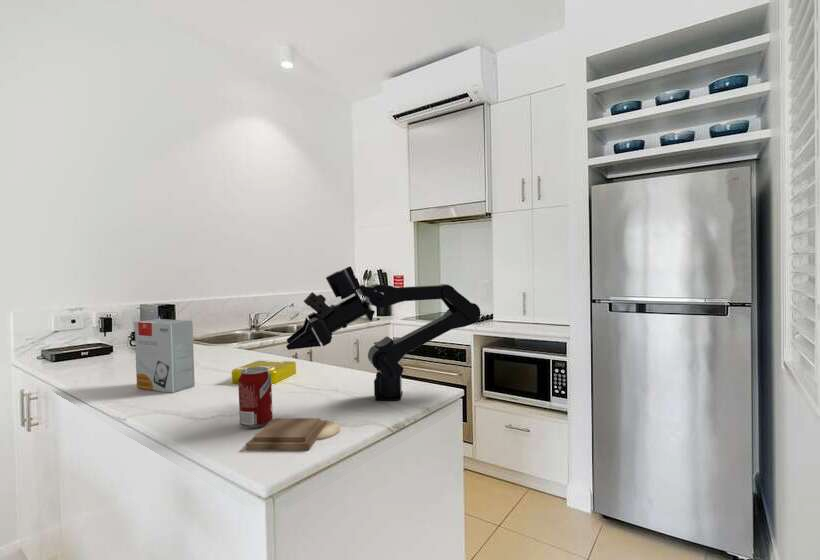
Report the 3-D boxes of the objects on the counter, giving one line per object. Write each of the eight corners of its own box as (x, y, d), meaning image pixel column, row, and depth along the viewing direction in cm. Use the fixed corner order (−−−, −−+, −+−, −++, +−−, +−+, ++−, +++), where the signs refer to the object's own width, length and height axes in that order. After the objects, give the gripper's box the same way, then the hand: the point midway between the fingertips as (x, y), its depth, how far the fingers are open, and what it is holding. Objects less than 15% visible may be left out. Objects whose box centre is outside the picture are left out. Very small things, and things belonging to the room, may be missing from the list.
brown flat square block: (326, 425, 89) (326, 416, 89) (309, 450, 77) (308, 439, 77) (272, 425, 90) (272, 416, 90) (246, 449, 78) (246, 439, 78)
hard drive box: (135, 389, 122) (132, 321, 122) (159, 382, 129) (157, 318, 129) (173, 393, 116) (170, 322, 116) (196, 386, 124) (193, 319, 123)
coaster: (344, 423, 90) (344, 420, 90) (333, 440, 81) (333, 437, 81) (304, 423, 91) (303, 420, 91) (289, 440, 82) (288, 437, 82)
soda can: (253, 432, 86) (251, 374, 86) (233, 426, 90) (231, 371, 90) (279, 421, 92) (277, 368, 92) (259, 416, 96) (257, 365, 95)
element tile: (298, 374, 137) (298, 359, 136) (273, 387, 122) (273, 370, 122) (258, 372, 140) (257, 358, 140) (229, 385, 125) (228, 369, 125)
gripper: (326, 284, 112) (272, 312, 108) (333, 286, 94) (268, 319, 90) (345, 320, 114) (293, 349, 110) (355, 329, 96) (293, 363, 92)
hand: (287, 344), depth 101 cm, fingers open, 9 cm apart
